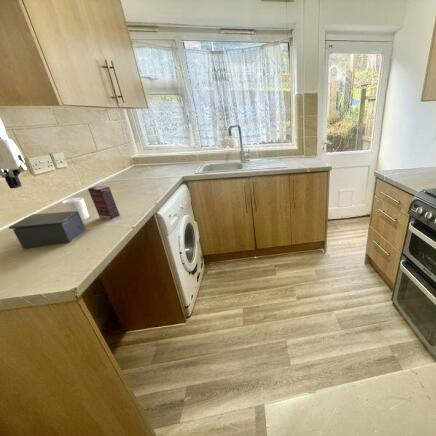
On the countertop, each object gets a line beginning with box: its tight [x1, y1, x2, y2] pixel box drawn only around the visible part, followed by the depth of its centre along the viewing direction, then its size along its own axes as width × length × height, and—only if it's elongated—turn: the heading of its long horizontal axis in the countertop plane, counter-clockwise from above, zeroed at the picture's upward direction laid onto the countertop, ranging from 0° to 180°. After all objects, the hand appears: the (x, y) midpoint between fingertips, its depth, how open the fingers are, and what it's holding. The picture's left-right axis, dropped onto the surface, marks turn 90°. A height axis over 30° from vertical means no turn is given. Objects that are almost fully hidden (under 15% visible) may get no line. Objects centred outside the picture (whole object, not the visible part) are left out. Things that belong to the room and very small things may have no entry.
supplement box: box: [87, 185, 121, 220], centre depth 119 cm, size 9×5×16 cm, turn 71°
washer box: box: [12, 213, 86, 250], centre depth 100 cm, size 16×13×9 cm
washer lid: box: [8, 211, 79, 230], centre depth 98 cm, size 16×13×1 cm
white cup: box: [61, 196, 90, 221], centre depth 120 cm, size 8×8×10 cm
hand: (16, 187), depth 91 cm, fingers closed
